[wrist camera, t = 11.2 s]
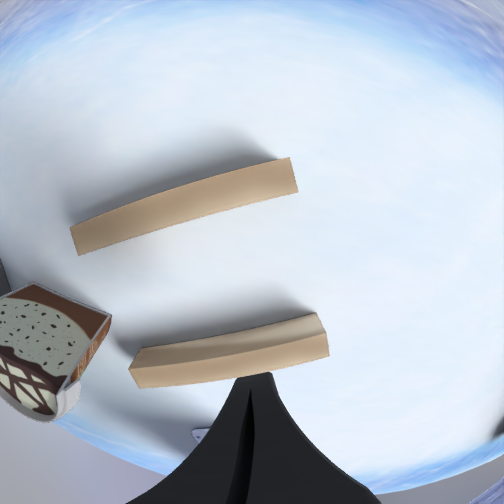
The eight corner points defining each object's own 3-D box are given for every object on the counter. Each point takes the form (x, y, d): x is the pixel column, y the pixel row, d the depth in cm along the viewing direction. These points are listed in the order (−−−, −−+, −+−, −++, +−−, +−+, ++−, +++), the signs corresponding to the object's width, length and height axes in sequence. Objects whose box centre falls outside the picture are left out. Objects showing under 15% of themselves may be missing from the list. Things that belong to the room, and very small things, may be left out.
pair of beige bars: (320, 334, 20) (329, 356, 17) (150, 366, 21) (139, 388, 18) (283, 161, 17) (289, 157, 14) (92, 221, 18) (69, 227, 15)
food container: (29, 329, 20) (-27, 376, 11) (24, 276, 19) (-47, 316, 9) (125, 374, 21) (81, 453, 11) (127, 320, 20) (64, 400, 10)
